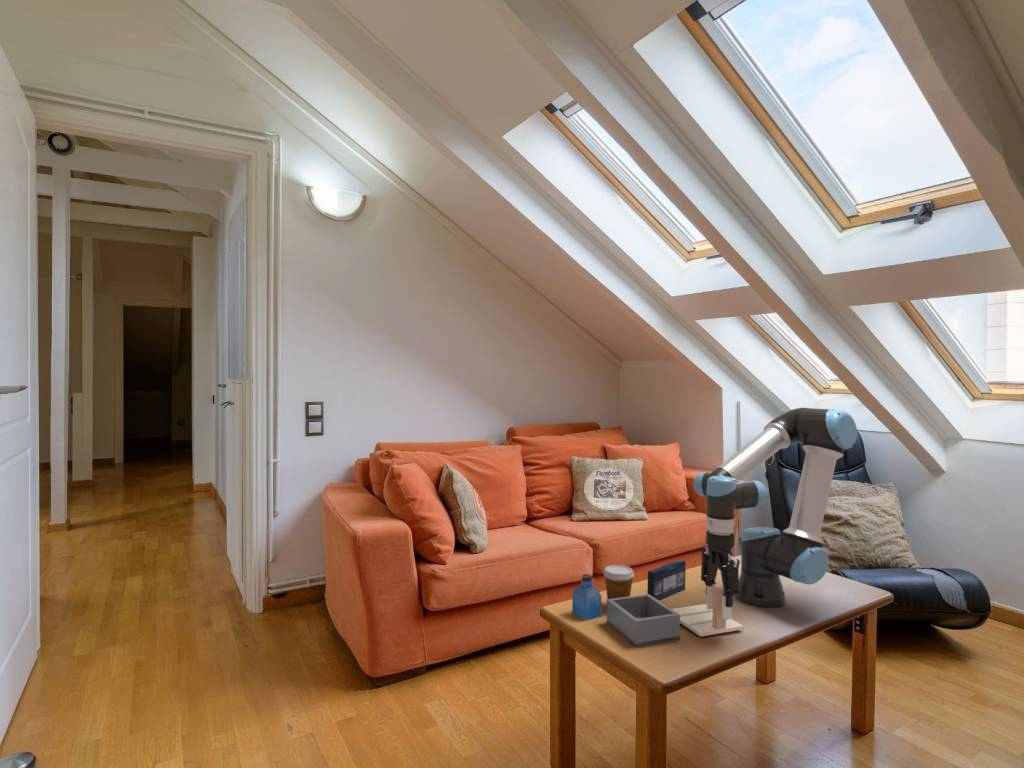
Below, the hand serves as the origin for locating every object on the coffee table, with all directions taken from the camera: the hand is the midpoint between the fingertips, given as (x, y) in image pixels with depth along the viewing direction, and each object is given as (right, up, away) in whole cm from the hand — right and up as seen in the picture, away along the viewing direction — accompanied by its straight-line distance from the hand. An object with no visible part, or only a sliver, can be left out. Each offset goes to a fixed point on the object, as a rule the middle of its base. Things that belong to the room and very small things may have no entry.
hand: (718, 612), depth 166 cm
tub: (-22, -6, +1) cm, 22 cm away
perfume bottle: (-36, -6, +12) cm, 38 cm away
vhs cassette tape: (-7, -6, +28) cm, 30 cm away
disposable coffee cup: (-25, -6, +18) cm, 31 cm away
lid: (-2, -5, +6) cm, 9 cm away
